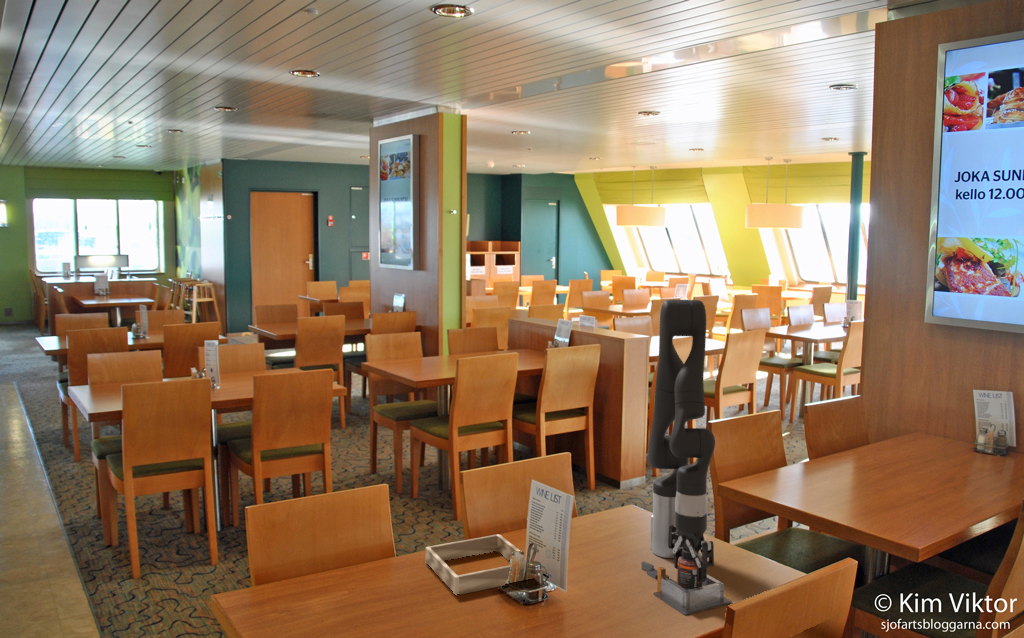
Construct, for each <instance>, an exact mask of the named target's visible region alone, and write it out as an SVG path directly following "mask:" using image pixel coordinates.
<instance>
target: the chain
mask: <svg viewBox="0 0 1024 638" xmlns="http://www.w3.org/2000/svg"><path fill="white" fill-rule="evenodd" d="M641 569H642V570H643V571H645V572H647V575H648V576H650V577H652V578H653V579H655V580H657V570H658V569H655V565H654V564H652V563H650V562H647V561H645V560H644V561H641ZM666 578H668V579H670V580H671V581H673V582H674V583H676V584H677V581H675V580H674V579H672V578H670V576H669V575H668V574H666Z"/></svg>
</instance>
